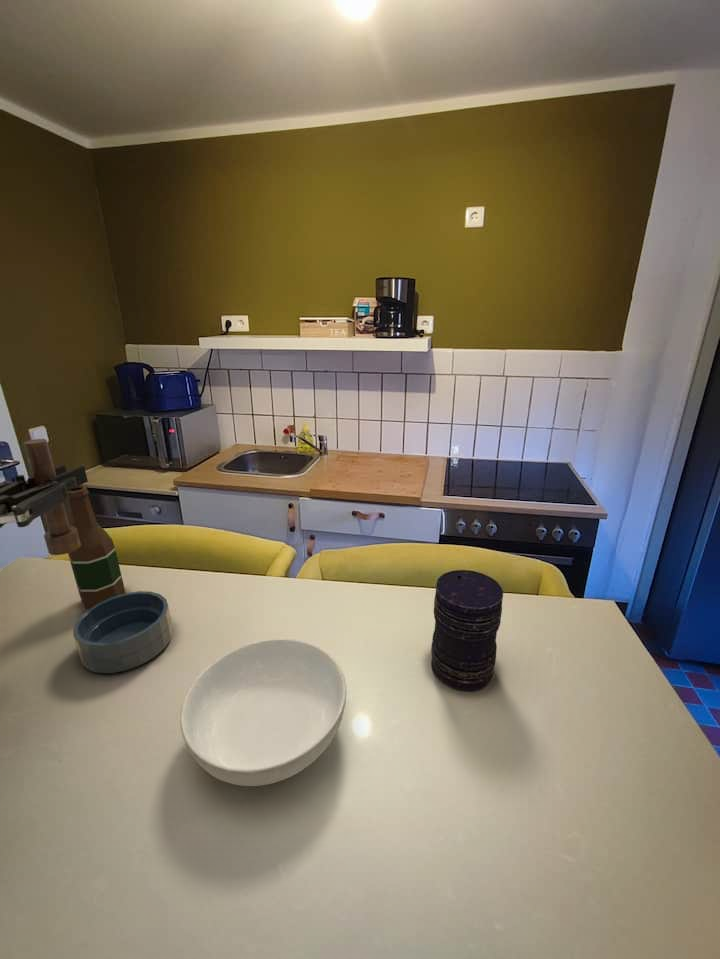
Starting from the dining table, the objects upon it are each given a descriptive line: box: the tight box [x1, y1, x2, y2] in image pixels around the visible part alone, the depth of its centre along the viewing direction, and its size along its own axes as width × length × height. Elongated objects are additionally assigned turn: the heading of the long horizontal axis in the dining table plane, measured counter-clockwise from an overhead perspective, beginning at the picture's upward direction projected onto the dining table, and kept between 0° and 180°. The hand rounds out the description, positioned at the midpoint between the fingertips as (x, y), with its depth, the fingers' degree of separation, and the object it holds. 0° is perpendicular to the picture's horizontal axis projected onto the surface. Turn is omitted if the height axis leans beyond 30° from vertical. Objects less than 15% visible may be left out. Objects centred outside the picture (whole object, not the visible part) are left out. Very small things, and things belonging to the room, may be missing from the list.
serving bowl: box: [180, 638, 347, 787], centre depth 57 cm, size 21×21×7 cm
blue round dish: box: [72, 590, 174, 674], centre depth 73 cm, size 14×14×6 cm
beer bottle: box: [67, 485, 126, 611], centre depth 82 cm, size 8×8×24 cm
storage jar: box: [430, 569, 504, 693], centre depth 65 cm, size 10×10×15 cm
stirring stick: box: [23, 438, 81, 556], centre depth 66 cm, size 4×4×18 cm
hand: (74, 473), depth 71 cm, fingers closed on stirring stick, 3 cm apart
